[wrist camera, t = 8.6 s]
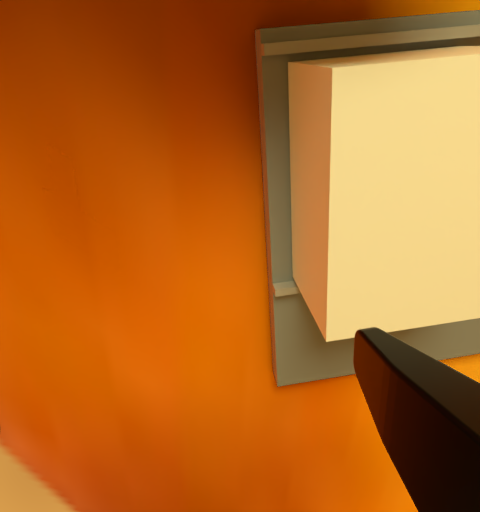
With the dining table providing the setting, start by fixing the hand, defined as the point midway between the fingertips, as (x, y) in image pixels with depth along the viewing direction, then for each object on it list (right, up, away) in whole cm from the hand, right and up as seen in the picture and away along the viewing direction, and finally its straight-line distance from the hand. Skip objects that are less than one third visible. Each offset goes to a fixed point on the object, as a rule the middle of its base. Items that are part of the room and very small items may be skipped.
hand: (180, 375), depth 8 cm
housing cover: (+7, +6, +10) cm, 14 cm away
